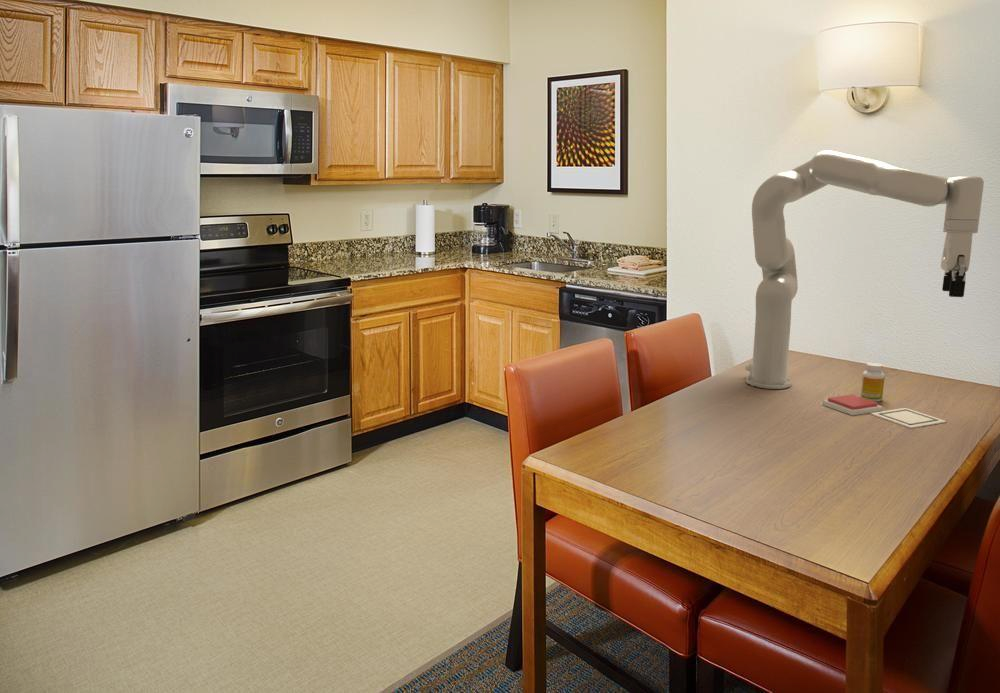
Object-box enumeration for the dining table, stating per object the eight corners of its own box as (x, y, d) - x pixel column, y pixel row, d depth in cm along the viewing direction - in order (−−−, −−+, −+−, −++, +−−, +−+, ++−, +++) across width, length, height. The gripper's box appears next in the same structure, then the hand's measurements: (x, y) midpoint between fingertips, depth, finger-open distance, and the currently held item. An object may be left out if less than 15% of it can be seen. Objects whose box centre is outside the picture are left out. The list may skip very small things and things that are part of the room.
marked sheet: (870, 414, 196) (870, 412, 196) (905, 408, 201) (905, 407, 201) (910, 428, 185) (911, 426, 185) (946, 422, 190) (946, 420, 190)
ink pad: (822, 404, 204) (823, 397, 204) (851, 400, 208) (852, 393, 208) (852, 415, 195) (853, 407, 195) (881, 410, 199) (882, 403, 199)
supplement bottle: (884, 402, 206) (888, 367, 204) (862, 401, 207) (866, 366, 205) (879, 396, 211) (882, 362, 209) (857, 395, 213) (861, 361, 210)
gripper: (938, 224, 204) (930, 288, 207) (949, 228, 188) (941, 298, 192) (971, 224, 201) (962, 289, 205) (985, 229, 185) (976, 299, 189)
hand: (952, 293), depth 198 cm, fingers open, 9 cm apart
